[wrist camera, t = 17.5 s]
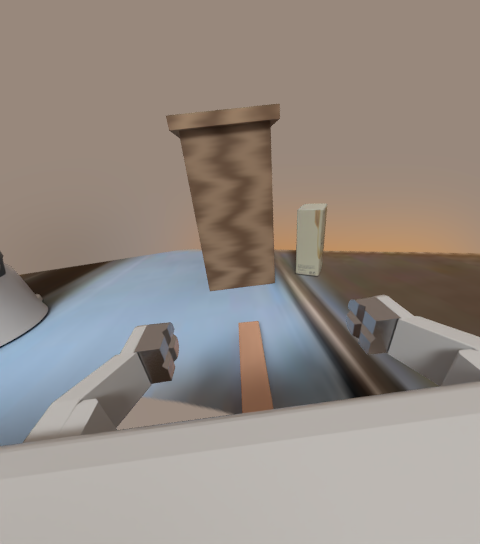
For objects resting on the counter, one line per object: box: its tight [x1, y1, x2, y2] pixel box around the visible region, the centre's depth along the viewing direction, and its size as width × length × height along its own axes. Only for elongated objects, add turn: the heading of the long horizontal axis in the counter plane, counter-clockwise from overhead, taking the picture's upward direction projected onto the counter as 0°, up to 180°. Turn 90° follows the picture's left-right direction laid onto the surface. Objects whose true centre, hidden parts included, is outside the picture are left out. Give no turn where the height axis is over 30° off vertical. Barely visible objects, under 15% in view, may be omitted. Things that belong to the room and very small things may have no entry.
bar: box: [239, 321, 273, 413], centre depth 17 cm, size 2×21×2 cm, turn 2°
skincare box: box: [296, 204, 327, 276], centre depth 39 cm, size 6×4×12 cm
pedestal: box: [166, 104, 280, 291], centre depth 36 cm, size 14×12×26 cm
